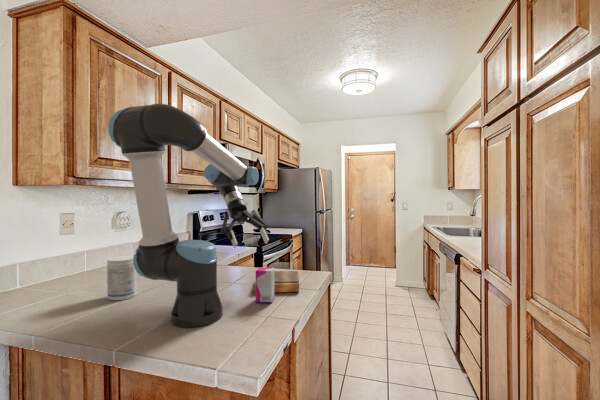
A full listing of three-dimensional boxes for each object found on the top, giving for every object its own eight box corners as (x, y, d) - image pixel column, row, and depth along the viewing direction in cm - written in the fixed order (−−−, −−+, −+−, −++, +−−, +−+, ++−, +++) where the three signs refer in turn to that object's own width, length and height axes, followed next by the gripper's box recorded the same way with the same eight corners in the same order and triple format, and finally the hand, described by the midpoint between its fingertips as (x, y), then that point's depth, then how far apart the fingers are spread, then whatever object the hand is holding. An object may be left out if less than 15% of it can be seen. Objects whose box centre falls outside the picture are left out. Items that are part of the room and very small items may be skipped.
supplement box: (274, 298, 104) (274, 267, 104) (271, 304, 99) (271, 271, 98) (259, 297, 105) (259, 266, 105) (255, 303, 99) (255, 270, 99)
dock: (255, 293, 109) (255, 283, 109) (259, 280, 127) (259, 271, 127) (299, 293, 110) (299, 282, 110) (297, 279, 127) (297, 271, 127)
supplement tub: (115, 293, 110) (114, 255, 110) (141, 291, 112) (141, 254, 112) (102, 302, 101) (101, 261, 101) (130, 300, 102) (130, 260, 102)
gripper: (258, 209, 132) (275, 245, 120) (204, 211, 117) (218, 253, 106) (263, 197, 128) (282, 234, 116) (209, 198, 113) (223, 241, 101)
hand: (252, 243), depth 111 cm, fingers open, 13 cm apart
